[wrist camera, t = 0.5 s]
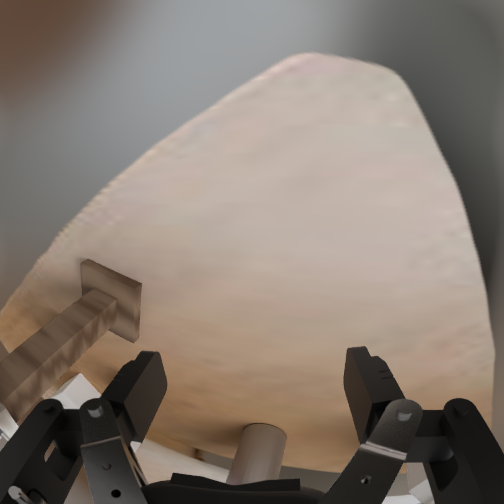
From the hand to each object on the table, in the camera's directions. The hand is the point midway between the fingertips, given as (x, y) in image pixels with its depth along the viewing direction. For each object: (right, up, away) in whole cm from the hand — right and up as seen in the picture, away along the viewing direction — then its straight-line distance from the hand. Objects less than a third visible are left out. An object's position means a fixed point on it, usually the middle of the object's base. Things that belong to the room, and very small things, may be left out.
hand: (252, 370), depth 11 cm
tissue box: (-43, -40, +55) cm, 80 cm away
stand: (-25, -3, +36) cm, 44 cm away
